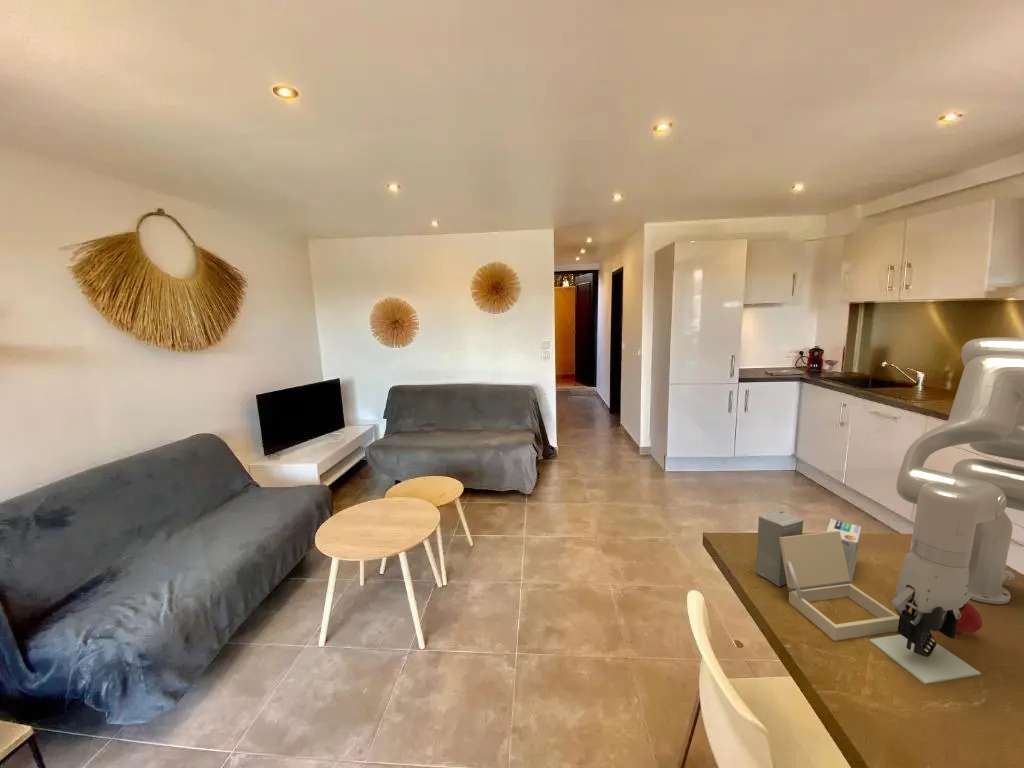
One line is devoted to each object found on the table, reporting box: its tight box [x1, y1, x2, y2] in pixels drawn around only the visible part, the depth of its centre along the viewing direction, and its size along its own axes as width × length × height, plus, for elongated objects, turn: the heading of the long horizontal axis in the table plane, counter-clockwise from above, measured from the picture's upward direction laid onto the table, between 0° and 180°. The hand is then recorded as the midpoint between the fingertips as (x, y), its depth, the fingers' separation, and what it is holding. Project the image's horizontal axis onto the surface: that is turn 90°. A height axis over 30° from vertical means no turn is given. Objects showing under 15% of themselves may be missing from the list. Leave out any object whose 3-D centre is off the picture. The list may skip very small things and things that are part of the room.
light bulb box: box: [825, 518, 862, 582], centre depth 105 cm, size 11×7×11 cm, turn 136°
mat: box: [868, 634, 982, 685], centre depth 79 cm, size 12×10×1 cm
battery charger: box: [906, 600, 947, 657], centre depth 77 cm, size 7×4×11 cm, turn 123°
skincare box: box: [755, 510, 804, 587], centre depth 103 cm, size 8×7×16 cm
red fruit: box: [955, 601, 983, 634], centre depth 84 cm, size 6×6×8 cm
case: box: [779, 531, 900, 642], centre depth 91 cm, size 16×16×14 cm
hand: (925, 634), depth 78 cm, fingers closed on battery charger, 7 cm apart
